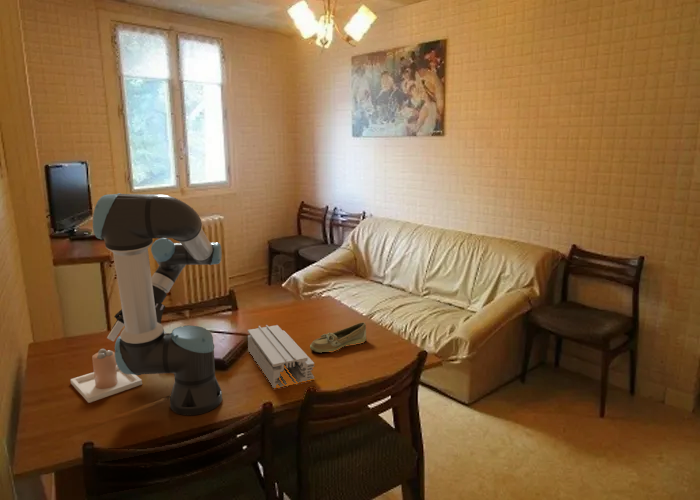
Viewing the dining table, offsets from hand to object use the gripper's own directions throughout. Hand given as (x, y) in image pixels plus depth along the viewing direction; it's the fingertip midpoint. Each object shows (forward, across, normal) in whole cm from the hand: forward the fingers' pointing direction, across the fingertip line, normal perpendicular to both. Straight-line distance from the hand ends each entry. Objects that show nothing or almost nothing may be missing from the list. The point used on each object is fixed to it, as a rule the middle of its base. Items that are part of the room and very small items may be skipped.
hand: (123, 344), depth 159 cm
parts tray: (+14, -1, -3) cm, 14 cm away
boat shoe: (-33, -48, -50) cm, 77 cm away
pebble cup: (+13, -1, -2) cm, 13 cm away
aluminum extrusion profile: (-15, -38, -32) cm, 52 cm away
